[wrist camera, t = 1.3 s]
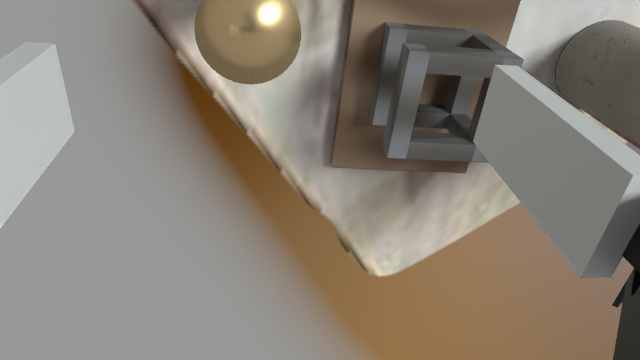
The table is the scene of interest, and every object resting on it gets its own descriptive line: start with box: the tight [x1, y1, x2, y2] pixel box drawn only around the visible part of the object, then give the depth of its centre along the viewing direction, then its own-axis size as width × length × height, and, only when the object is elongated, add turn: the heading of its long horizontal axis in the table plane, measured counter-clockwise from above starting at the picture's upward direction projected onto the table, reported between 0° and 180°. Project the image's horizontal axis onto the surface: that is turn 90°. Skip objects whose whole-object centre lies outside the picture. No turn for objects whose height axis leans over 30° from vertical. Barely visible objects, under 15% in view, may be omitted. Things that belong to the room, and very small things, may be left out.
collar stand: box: [331, 0, 524, 173], centre depth 39 cm, size 20×14×9 cm
